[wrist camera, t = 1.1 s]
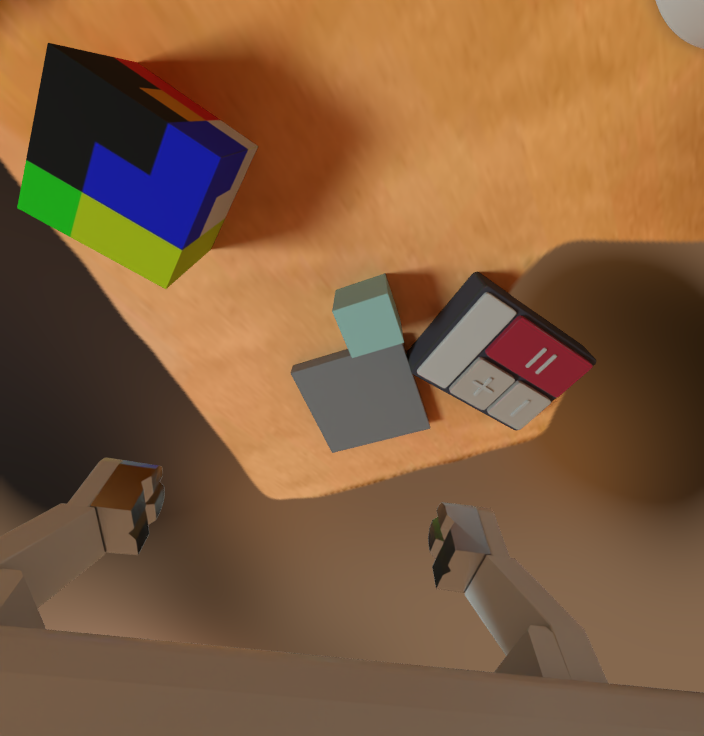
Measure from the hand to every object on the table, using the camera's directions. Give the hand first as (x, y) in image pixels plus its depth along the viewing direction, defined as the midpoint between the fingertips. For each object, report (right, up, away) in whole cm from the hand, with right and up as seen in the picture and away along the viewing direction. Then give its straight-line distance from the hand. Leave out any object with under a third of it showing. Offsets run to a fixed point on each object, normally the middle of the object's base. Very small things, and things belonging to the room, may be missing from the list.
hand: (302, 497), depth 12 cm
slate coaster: (+3, +1, +34) cm, 34 cm away
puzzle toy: (-13, +21, +22) cm, 33 cm away
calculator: (+16, +6, +31) cm, 35 cm away
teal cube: (+3, +10, +28) cm, 30 cm away
